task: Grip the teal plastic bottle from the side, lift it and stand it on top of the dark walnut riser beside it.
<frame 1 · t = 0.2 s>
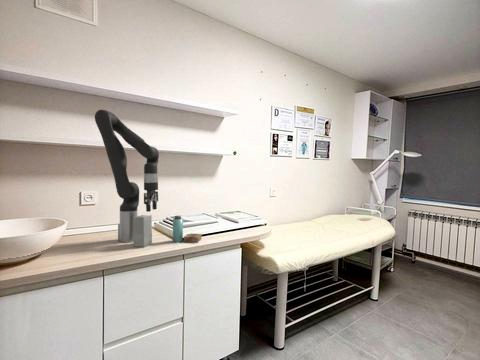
hand: (151, 210, 142), 18 cm above the counter, tool pointing down, fingers open, 8 cm apart
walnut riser: (192, 240, 146), on the counter
teal bottle: (177, 241, 144), on the counter
skincare box: (142, 245, 136), on the counter
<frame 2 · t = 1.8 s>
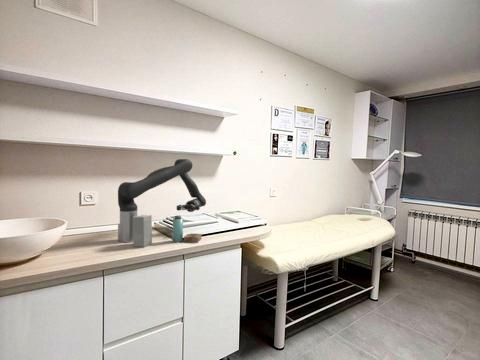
hand: (184, 209, 155), 17 cm above the counter, tool horizontal, fingers open, 8 cm apart
nothing on the counter moved.
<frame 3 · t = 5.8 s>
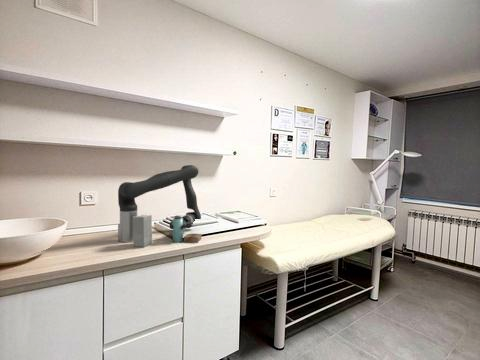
hand: (176, 227, 141), 9 cm above the counter, tool horizontal, fingers closed on teal bottle, 5 cm apart
teal bottle: (177, 241, 144), on the counter, touching gripper
everything else where it was.
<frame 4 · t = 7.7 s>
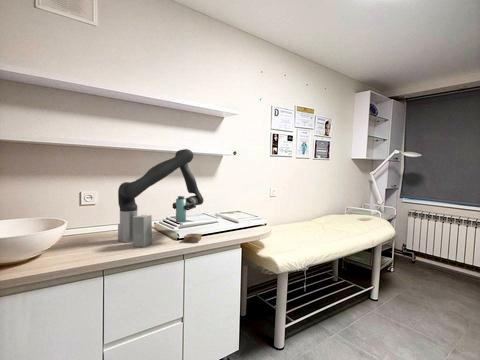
hand: (179, 207, 142), 20 cm above the counter, tool horizontal, fingers closed on teal bottle, 5 cm apart
teal bottle: (180, 221, 144), point 11 cm above the counter, touching gripper
everything else where it was.
when the fingers open (13 cm above the counter, at t = 9.9 s): teal bottle drops 1 cm, resting on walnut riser.
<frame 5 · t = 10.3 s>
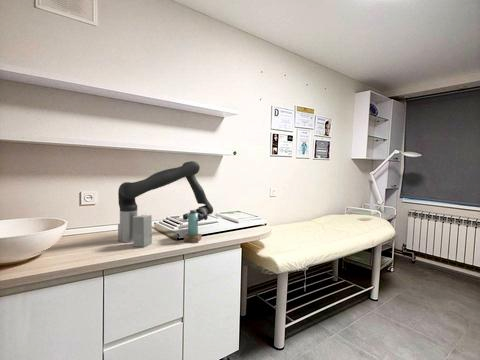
hand: (192, 218, 144), 13 cm above the counter, tool horizontal, fingers open, 8 cm apart
teal bottle: (192, 235, 146), point 3 cm above the counter, touching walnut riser
everything else where it was.
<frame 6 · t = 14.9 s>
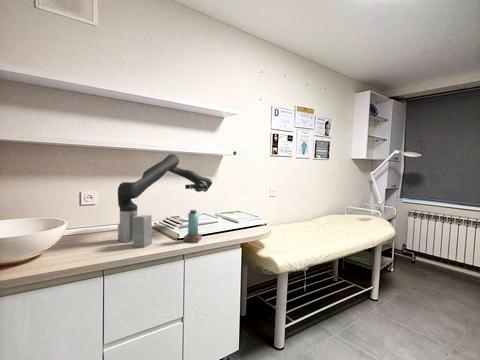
hand: (193, 187, 160), 30 cm above the counter, tool horizontal, fingers open, 8 cm apart
nothing on the counter moved.
at the end: teal bottle 0.1 cm off-centre on the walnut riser, point 3.1 cm above the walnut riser's base; teal bottle tilted 1°; the gripper is holding nothing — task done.
